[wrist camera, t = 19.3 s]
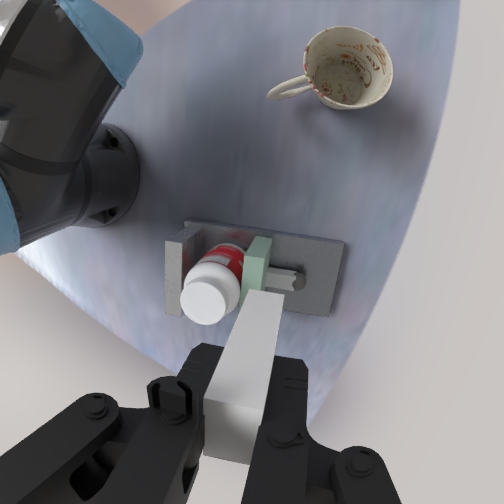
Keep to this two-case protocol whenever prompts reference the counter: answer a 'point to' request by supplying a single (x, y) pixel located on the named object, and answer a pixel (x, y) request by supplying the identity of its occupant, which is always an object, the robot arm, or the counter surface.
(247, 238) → the vise base
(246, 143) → the counter surface
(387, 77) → the mug
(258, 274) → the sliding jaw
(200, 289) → the pill bottle
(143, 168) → the counter surface
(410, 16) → the counter surface
